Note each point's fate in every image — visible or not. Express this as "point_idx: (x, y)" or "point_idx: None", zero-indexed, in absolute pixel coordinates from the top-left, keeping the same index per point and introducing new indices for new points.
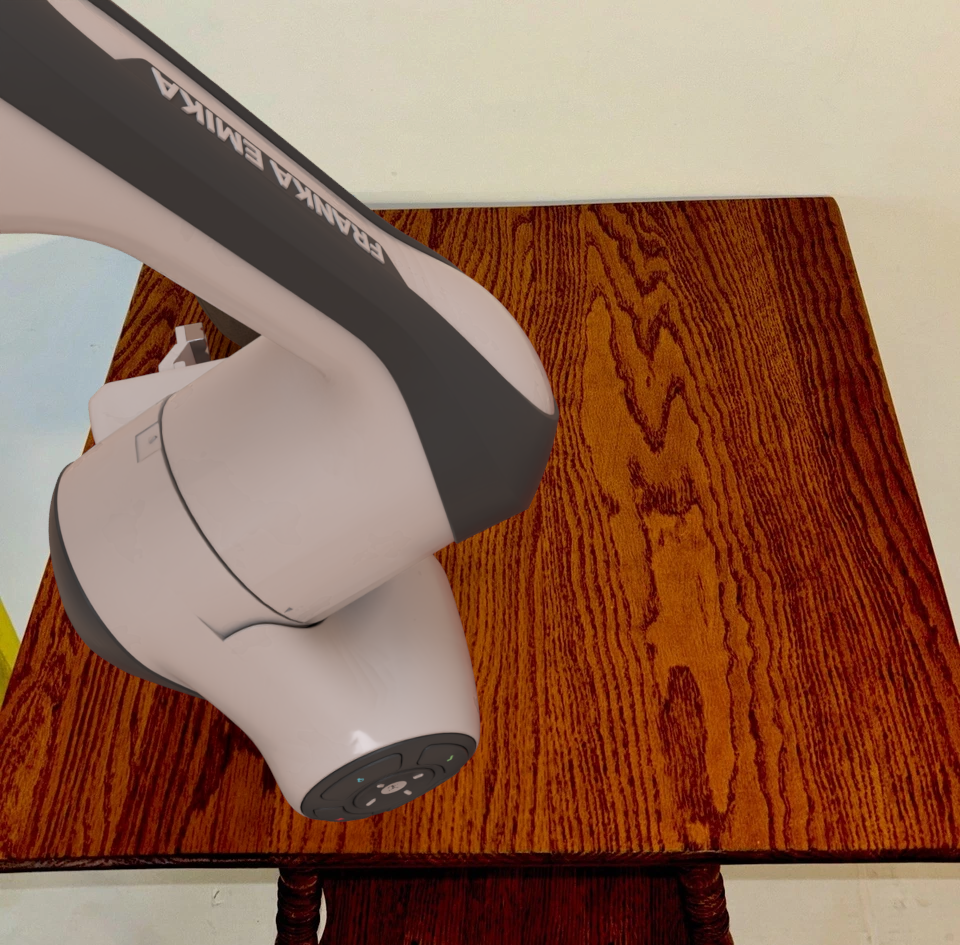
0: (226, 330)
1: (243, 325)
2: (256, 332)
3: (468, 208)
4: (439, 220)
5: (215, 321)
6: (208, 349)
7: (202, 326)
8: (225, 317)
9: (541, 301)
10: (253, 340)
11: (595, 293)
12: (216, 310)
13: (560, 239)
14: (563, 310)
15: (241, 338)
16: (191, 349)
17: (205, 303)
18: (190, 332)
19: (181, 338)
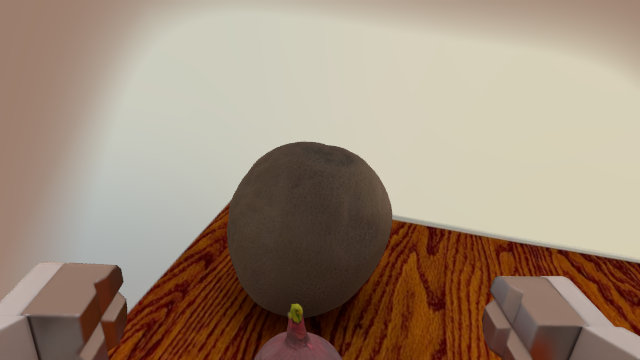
0: (244, 283)
1: (261, 282)
2: (271, 292)
3: (456, 231)
4: (434, 235)
5: (237, 271)
6: (104, 345)
7: (110, 277)
8: (246, 270)
9: None
10: (266, 299)
11: None
12: (239, 261)
13: (541, 271)
14: None
15: (256, 294)
16: (33, 341)
17: (232, 252)
18: (58, 286)
19: (17, 299)
